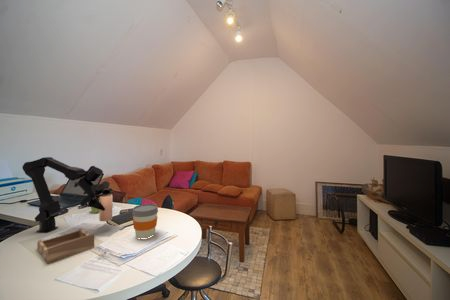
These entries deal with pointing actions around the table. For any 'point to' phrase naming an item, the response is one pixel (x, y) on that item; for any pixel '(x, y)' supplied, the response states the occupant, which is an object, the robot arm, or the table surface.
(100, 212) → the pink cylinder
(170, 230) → the table surface
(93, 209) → the plant pot
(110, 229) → the grey mat
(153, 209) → the reusable coffee cup
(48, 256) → the open wooden box
